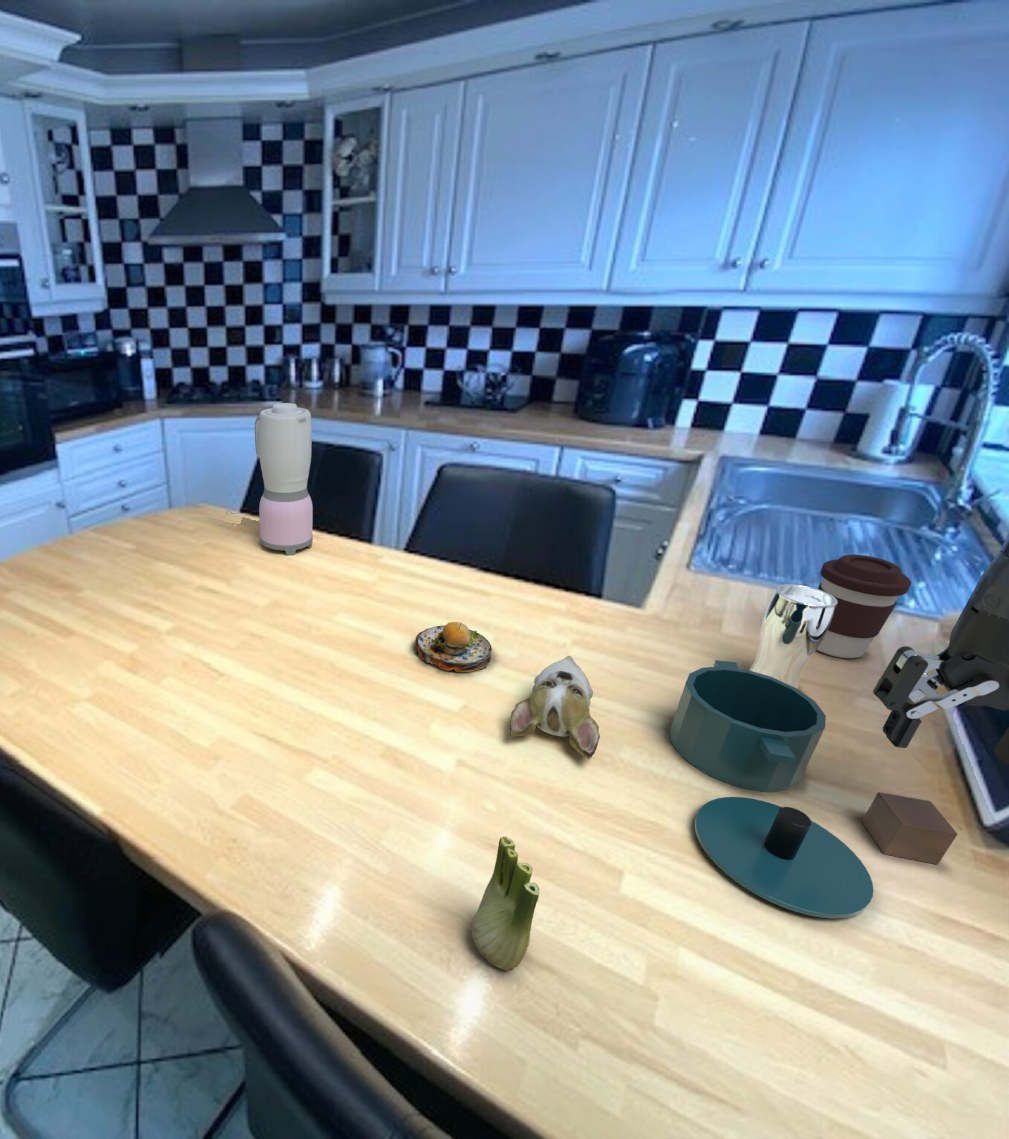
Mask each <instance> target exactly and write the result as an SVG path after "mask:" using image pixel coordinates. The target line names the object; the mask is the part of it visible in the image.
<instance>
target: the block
mask: <svg viewBox="0 0 1009 1139" xmlns="http://www.w3.org/2000/svg"><path fill="white" fill-rule="evenodd" d="M861 823H862V824H863V826H864V827H865V829H866V830H867V832H868V834H870V836H871V837H872V840H874V842H875V844H876V845H877V846H878V848H879V849H880V851H881V852H882V854H883V855H887V856H892V857H895V858H902V859H906V860H912V861H916V862H921V863H927V864H931V865H936V866H937V865H939V864H940V862H941V860H942V859H943V858H944V856H945V855H946V853H947V852H948V850H949V848H950V847H951V845H952V844H953V842H954V841H955V839H956V838H957V836H958V833H957V831H956V830H955V829H954V828H953V826H952V825H951V824H950V822H949V821H947V819H946V818H945V816H944V815H942V813H941V812H940V811H939V810H938V809H937V807H936V806H935V805H934V804H933V801H931V800H926V799H920V798H915V797H909V796H903V795H897V794H893V793H886V792H881V791H878V792H877V793H876V795H875V796H874V798H873V800H872V802H871V804H870V806H869V807H868V810H867V811H866V813H865V815H864V816H863V819H862V821H861Z"/></svg>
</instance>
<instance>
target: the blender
mask: <svg viewBox="0 0 1009 1139" xmlns="http://www.w3.org/2000/svg"><path fill="white" fill-rule="evenodd" d="M312 434H313V433H312V414H311V412H310V410H309V409H306V408H303V407H298V406H297V404H296V403H291V402H282V403H275V404H273V405H272V407H271V408H266V409H263V410H261V411H260V413H259V415H258V416H257V417H256V418H255V421H254V442H255V443H254V444H255V454H256V457H257V458H258V459H259V463H260V468H261V474H262V479H263V486H264V487H263V488H264V489H263V492H262V496H261V498H260V501H259V507H258V508H259V509H258V512H259V514H258V515H259V516H258V519H259V542H260V545H262V546H263V547H265V548H268V549H270V550H275V551H284V552H285V555H286V556H294V555H296V551H297V550H301V549H305V548H306V547H307V549H311V548H312V547H313V539H314V537H313V536H314V535H313V523H314V522H313V519H314V518H313V516H314V515H313V514H314V512H313V511H314V508H313V507H314V506H313V501H312V498H311V496H310V493H309V491H308V480H309V476H310V470H311V463H312V438H313V436H312Z"/></svg>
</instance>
